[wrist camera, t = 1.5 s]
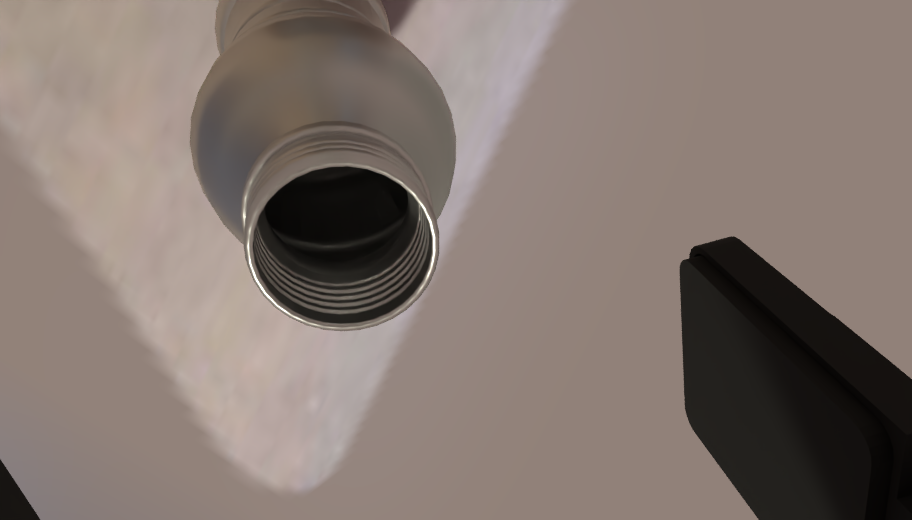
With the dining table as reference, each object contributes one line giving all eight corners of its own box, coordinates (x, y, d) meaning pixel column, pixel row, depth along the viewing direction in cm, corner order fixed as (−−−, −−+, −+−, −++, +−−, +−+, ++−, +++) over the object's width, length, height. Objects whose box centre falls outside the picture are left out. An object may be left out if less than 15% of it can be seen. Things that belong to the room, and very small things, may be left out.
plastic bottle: (304, -101, 29) (354, -17, 12) (414, 37, 32) (578, 258, 15) (182, 11, 30) (66, 238, 13) (302, 134, 33) (336, 443, 16)
